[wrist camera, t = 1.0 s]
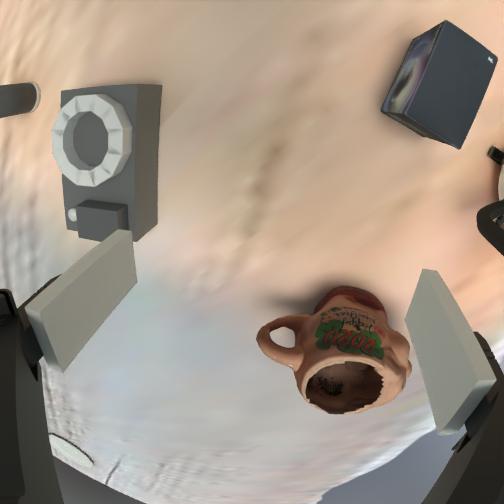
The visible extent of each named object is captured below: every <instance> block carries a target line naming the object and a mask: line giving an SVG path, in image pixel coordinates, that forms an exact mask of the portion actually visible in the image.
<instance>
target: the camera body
mask: <svg viewBox="0 0 504 504" xmlns="http://www.w3.org/2000/svg"><path fill="white" fill-rule="evenodd" d="M161 91H162V86H161V85H145V84H130V85H113V86H101V87H90V88H80V89H72V90H64V91H61V109H60V111H59V114H58V116H57V119H56V121H55V124H54V126H53V129H52V151H53V155H54V157H55V160H56V162H57V164H58V166H59V168H60V171H61V173H62V183H63V196H64V206H65V216H66V224H67V229H68V230H73V231H78V235H79V238H84V239H89V240H95V241H100V242H102V241H103V240H105V239H106V238H107V237H109V236H110V235H111V234H112V233H114V232H115V231H116V230H118V229H120V230H128V231H132V240H133V241H134V242H137V241H138V240H139V239H141V238H142V237H143V236H144V235H145V234H146V233H147V232H148V231H150V230H151V229H152V228H153V227H154V226H155V225H156V224H157V177H158V142H159V121H160V105H161Z"/></svg>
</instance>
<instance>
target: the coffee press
mask: <svg viewBox="0 0 504 504" xmlns="http://www.w3.org/2000/svg"><path fill="white" fill-rule="evenodd" d="M488 156H489V157H490V158H491V159H493V160H494V161H496V162H497V163H498V164H500V165H501V166H502V169H501V172H500V177H499V185H498V192H499V201H498V202H495V203H492V204H489V205H487V206H485V207H483V208H482V209H480V210H479V211H478V213H477V227H478V230H479V232H480V233H481V234H482V235H483V236H484V237H485V238H486V239H487V240H488V241H489V242H490V243H491V244H492V245H493V246H494V247H495V248H496V249H497V250H498V251H499V252H500V253H501V254H502V255H503V256H504V225H502V224H503V223H504V153H503V152H502V151H500V150H499V149H497V148H495V147H492V148H491V150H490V152H489V154H488ZM499 216H500V217H499ZM497 217H498V218H497ZM495 218H497V220H496V223H495V222H494V221H493V219H495Z"/></svg>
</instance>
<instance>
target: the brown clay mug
mask: <svg viewBox="0 0 504 504" xmlns="http://www.w3.org/2000/svg"><path fill="white" fill-rule="evenodd" d="M284 326H285V327H286V328H289V329H291V330H293V331H294V332H295V346H294V347H292V348H286V347H282V346H280V345H277V344H276V343H274V342H273V341H272V339H271V337H270V332H271V331H273V330H275V329H278V328H280V327H284ZM256 340H257V342H258V345H259V347H260V349H261V350H262V351H263V353H264V354H265V355H266V356H268V357H269V358H271V359H272V360H274V361H276V362H278V363H280V364H283V365H285V366H288V367H290V368H291V369H293V370H294V375H295V379H296V381H297V387H298V389H299V391H300V393H301V394H302V396H303V397H304V399H305V400H306V401H307V402H308V403H309V404H311V405H312V406H314V407H315V408H317V409H319V410H322V411H325V412H327V413H329V414H350V413H361V412H363V411H365V410H368V409H370V408H373V407H377V406H381V405H384V404H387V403H389V402H391V401H392V400H394V399H395V398H396V396H397V395H398V394H399V393H400V392H401V391H402V390H403V389H404V387H405V383H406V379H407V378H408V377H409V375H410V374H411V371H412V365H411V363H410V361H409V360H408V357H409V350H410V345H409V342H408V341H407V339H406V338H405V337H404V336H403V335H401V334H400V333H399V332H397V331H395V330H393V329H391V328H390V327H389V326H388V322H387V316H386V312H385V309H384V307H383V305H382V304H381V303H380V301H379V300H378V299H377V298H376V297H375V296H373V295H372V294H370V293H368V292H366V291H363V290H360V289H357V288H351V287H339V288H336V289H334V290H332V291H330V292H329V293H328V294H327V295H326V296H325V297H324V298H323V299H322V300H321V302H320V303H319V304H318V305H317V306H316V308H315V311H314V315H313V316H310V315H307V314H299V315H290V316H285V317H282V318H278V319H276V320H274V321H272V322H270V323H267V324H266V325H265V326H263V327H262V328H261V329H260V330H259V332H258V334H257V337H256Z"/></svg>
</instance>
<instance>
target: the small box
mask: <svg viewBox="0 0 504 504" xmlns="http://www.w3.org/2000/svg"><path fill="white" fill-rule="evenodd" d="M497 61H498V57H497V56H496V55H494V54H493V53H492V52H491V51H489V50H488V49H487V48H486V47H484V46H483V45H482V44H480V43H479V42H478V41H476V40H475V39H474V38H472V37H471V36H470V35H468V34H467V33H465V32H464V31H463V30H461V29H460V28H458V27H457V26H455V25H454V24H452V23H451V22H449V21H448V20H445V21H443V22H442V23H440V24H438V25H437V26H435V27H433V28H432V29H430V30H428V31H426V32H425V33H423V34H421V35H420V36H418V37H416V38H415V39H413V41H412V43H411V45H410V47H409V50H408V52H407V54H406V57H405V59H404V61H403V63H402V65H401V68H400V70H399V72H398V74H397V76H396V78H395V81H394V83H393V85H392V87H391V89H390V92H389V94H388V96H387V98H386V100H385V102H384V104H383V107H382V109H381V112H382V113H384V114H386V115H387V116H389V117H391V118H392V119H394V120H396V121H398V122H399V123H401V124H403V125H404V126H406V127H408V128H409V129H411V130H413V131H414V132H416V133H417V134H419V135H421V136H422V137H428V138H430V139H434V140H437V141H439V142H442V143H445V144H448V145H451V146H453V147H455V148H457V149H461V147H462V145H463V143H464V141H465V139H466V136H467V134H468V132H469V130H470V128H471V126H472V123H473V121H474V119H475V117H476V114H477V112H478V110H479V107H480V105H481V103H482V100H483V98H484V95H485V93H486V90H487V88H488V85H489V83H490V80H491V78H492V75H493V72H494V70H495V67H496V64H497Z"/></svg>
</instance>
